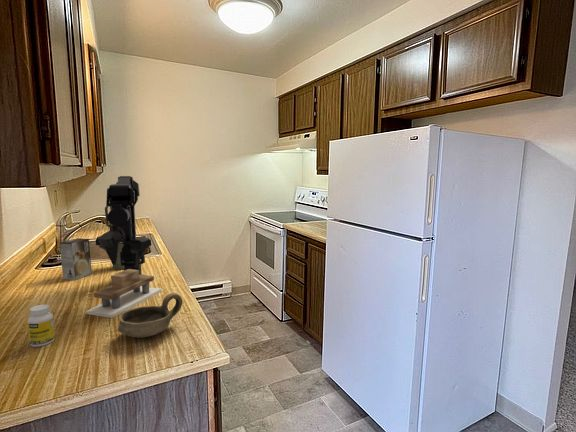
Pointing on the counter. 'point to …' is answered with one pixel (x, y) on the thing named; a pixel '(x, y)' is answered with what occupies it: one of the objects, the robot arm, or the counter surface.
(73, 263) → the coffee box
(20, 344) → the counter surface
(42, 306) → the supplement bottle
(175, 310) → the bowl
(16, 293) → the counter surface
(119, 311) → the peg stand
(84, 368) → the counter surface
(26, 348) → the counter surface
